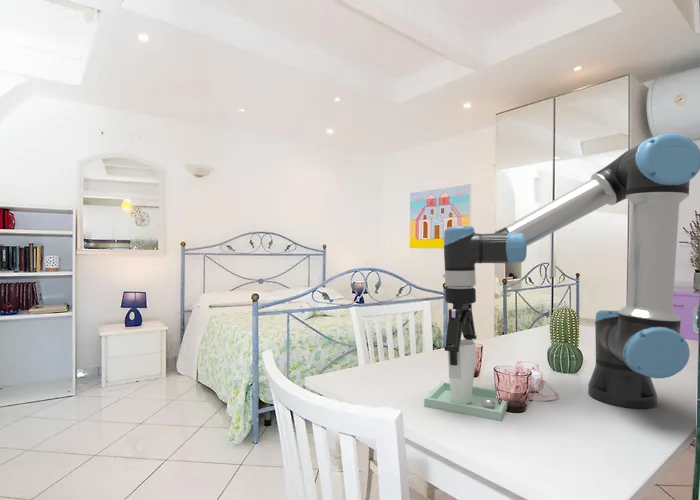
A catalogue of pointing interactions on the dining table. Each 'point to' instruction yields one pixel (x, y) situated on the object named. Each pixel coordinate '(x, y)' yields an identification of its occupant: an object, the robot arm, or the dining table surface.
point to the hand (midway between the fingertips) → (462, 370)
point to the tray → (443, 402)
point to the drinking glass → (464, 374)
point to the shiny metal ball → (488, 403)
